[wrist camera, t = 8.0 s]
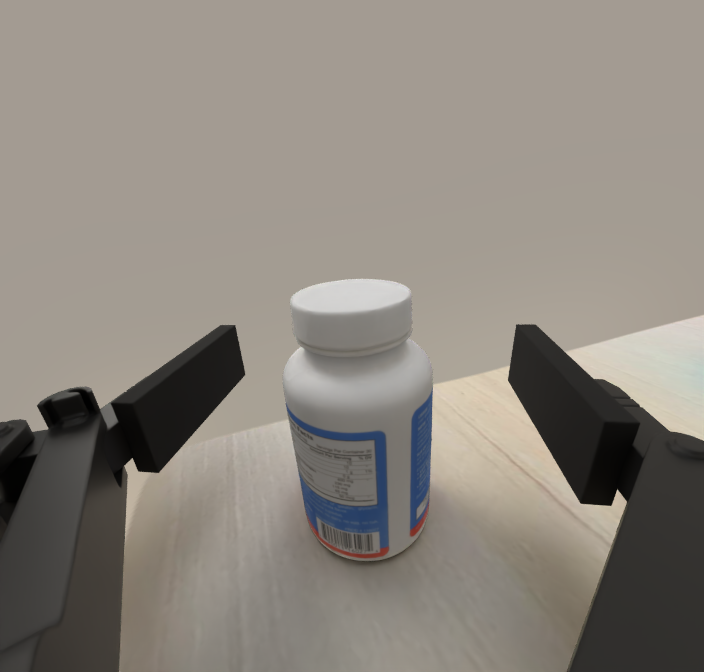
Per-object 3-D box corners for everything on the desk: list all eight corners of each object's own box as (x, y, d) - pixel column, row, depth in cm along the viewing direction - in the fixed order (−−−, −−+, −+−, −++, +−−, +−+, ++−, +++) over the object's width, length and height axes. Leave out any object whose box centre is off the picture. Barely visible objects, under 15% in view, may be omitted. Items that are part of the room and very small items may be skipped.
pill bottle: (383, 446, 18) (379, 268, 14) (455, 523, 13) (477, 293, 10) (287, 488, 15) (252, 289, 12) (336, 598, 11) (304, 335, 7)
